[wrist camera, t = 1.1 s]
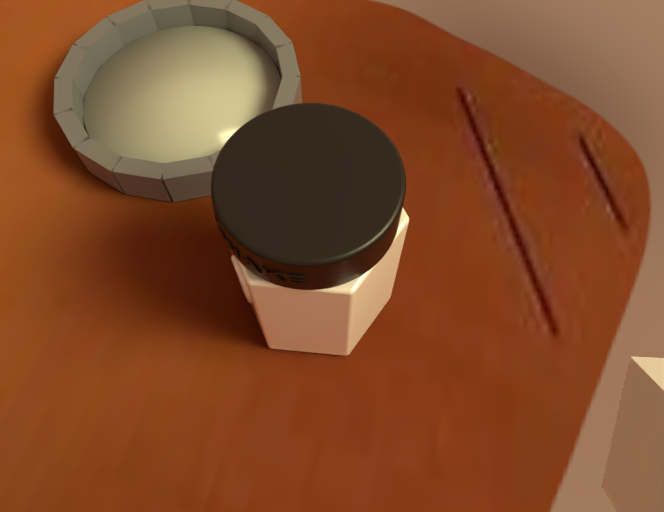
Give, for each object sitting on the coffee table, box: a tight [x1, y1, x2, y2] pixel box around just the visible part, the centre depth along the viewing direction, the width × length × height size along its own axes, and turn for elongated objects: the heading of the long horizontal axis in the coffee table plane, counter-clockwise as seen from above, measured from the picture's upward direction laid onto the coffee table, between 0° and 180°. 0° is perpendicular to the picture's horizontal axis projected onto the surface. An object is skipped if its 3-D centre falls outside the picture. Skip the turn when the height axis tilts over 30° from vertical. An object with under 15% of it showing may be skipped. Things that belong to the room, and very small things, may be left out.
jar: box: [211, 103, 409, 356], centre depth 28 cm, size 9×8×12 cm
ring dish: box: [54, 0, 302, 202], centre depth 39 cm, size 16×16×3 cm
